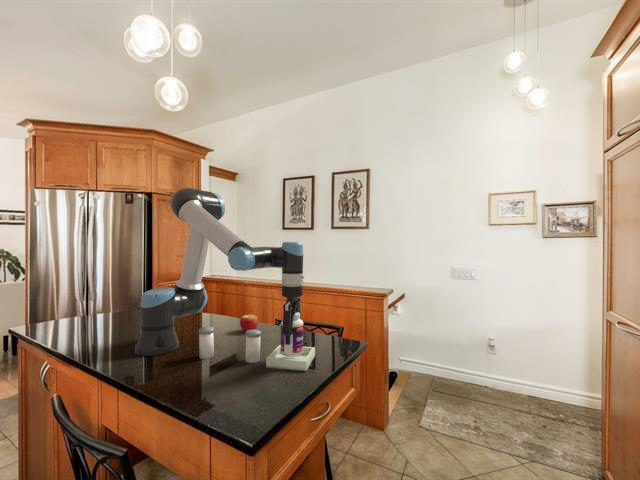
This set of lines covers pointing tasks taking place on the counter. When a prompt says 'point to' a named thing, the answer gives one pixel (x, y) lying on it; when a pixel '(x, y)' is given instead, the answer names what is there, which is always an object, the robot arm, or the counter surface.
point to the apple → (248, 322)
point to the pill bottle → (294, 337)
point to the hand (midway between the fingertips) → (291, 348)
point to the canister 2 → (253, 346)
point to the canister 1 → (206, 342)
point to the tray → (291, 359)
